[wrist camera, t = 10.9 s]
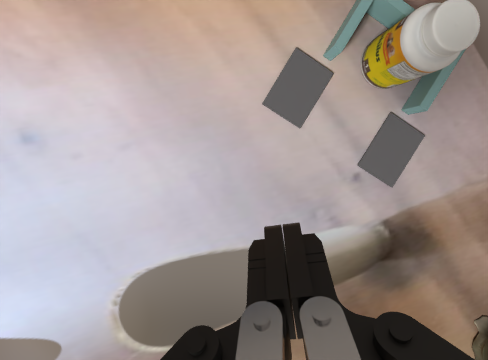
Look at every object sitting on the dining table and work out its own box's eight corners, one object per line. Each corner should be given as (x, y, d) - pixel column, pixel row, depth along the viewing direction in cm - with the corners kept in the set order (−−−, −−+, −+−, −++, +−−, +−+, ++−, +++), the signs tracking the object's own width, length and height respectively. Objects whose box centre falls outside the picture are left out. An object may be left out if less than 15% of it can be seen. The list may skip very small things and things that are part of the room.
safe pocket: (323, 55, 31) (334, 45, 28) (359, -5, 31) (374, -21, 28) (408, 114, 33) (427, 110, 30) (443, 57, 32) (466, 48, 29)
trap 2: (262, 104, 31) (262, 103, 31) (295, 48, 31) (296, 47, 31) (299, 128, 32) (300, 128, 32) (332, 73, 31) (333, 73, 31)
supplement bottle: (372, 29, 31) (446, -30, 21) (413, 54, 32) (504, 9, 22) (349, 75, 32) (410, 38, 22) (390, 99, 32) (468, 74, 22)
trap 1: (357, 165, 33) (358, 165, 33) (389, 112, 32) (390, 112, 32) (391, 187, 33) (392, 187, 33) (423, 135, 33) (424, 135, 33)
